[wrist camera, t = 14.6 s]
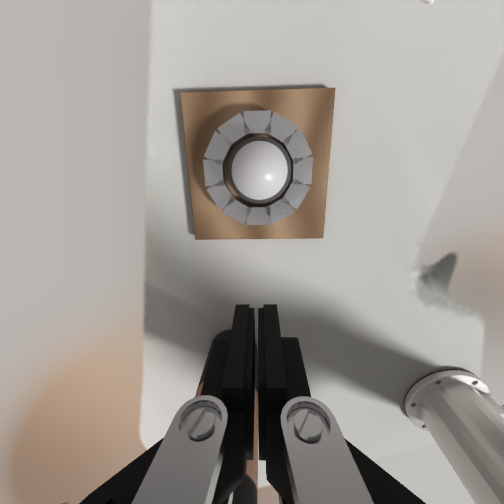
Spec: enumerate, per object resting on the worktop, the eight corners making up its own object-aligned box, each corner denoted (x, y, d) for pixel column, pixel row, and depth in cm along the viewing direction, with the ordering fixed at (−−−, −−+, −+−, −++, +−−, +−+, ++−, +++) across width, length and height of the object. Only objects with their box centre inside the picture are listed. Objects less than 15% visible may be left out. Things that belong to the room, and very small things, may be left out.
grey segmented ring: (311, 113, 26) (315, 109, 24) (305, 220, 29) (309, 224, 28) (203, 116, 26) (199, 112, 24) (211, 221, 30) (208, 225, 28)
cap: (286, 142, 27) (293, 136, 22) (284, 198, 29) (290, 204, 23) (232, 142, 27) (226, 135, 22) (233, 197, 29) (228, 203, 24)
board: (332, 91, 26) (335, 87, 25) (320, 235, 31) (323, 238, 30) (183, 95, 26) (180, 92, 25) (197, 236, 32) (195, 239, 31)
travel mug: (249, 373, 39) (240, 564, 20) (203, 359, 39) (151, 544, 20) (265, 336, 37) (272, 515, 18) (217, 321, 36) (172, 490, 17)
